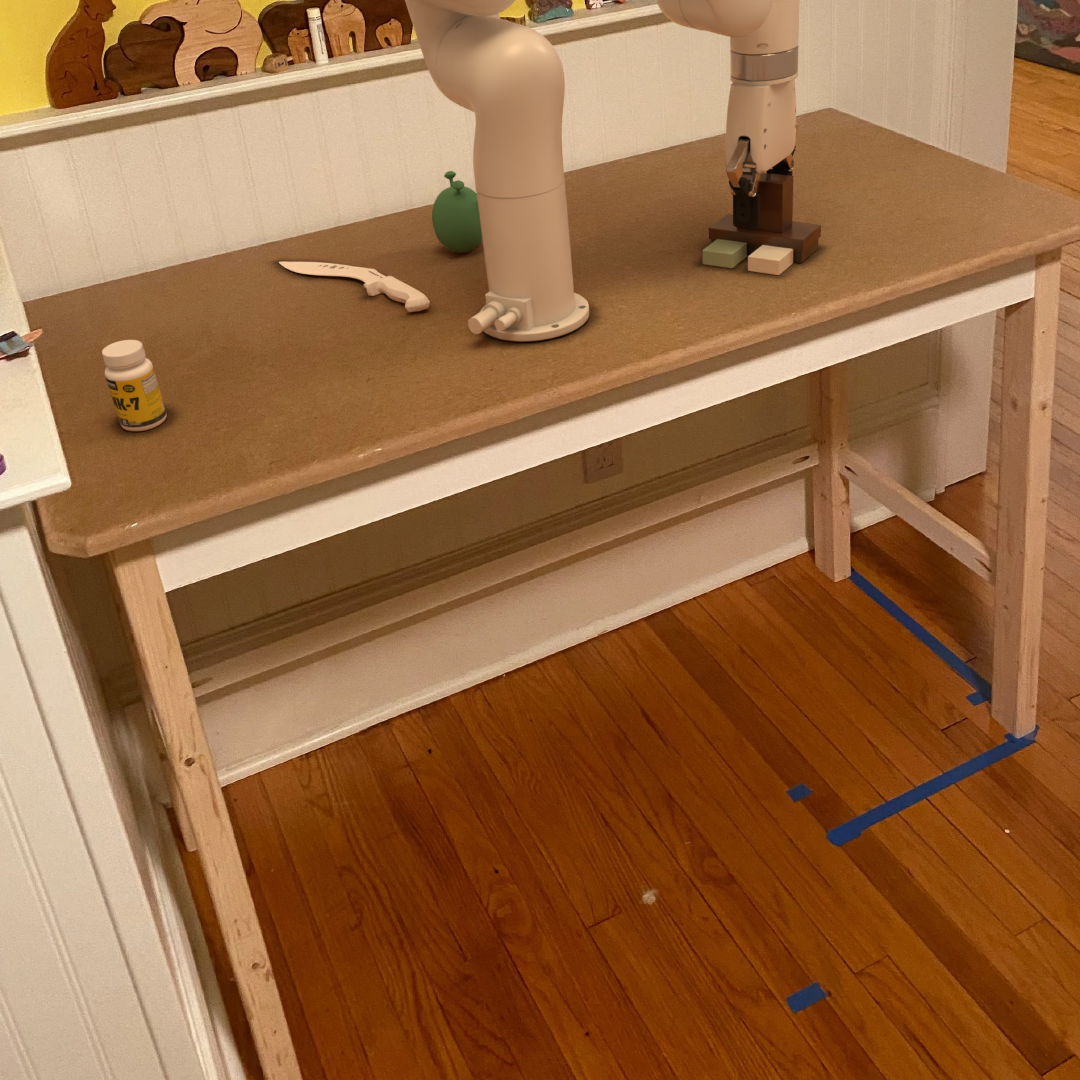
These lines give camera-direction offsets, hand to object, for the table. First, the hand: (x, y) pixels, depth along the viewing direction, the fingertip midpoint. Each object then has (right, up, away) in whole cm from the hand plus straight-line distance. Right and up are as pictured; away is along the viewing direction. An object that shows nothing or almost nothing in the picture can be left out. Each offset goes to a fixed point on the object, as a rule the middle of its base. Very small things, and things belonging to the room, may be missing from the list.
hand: (762, 214), depth 147 cm
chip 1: (-4, -5, +1) cm, 7 cm away
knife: (-51, -8, +6) cm, 52 cm away
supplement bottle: (-68, -27, -20) cm, 76 cm away
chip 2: (+1, -7, -2) cm, 7 cm away
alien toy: (-36, -2, +12) cm, 39 cm away
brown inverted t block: (+1, -4, +3) cm, 5 cm away
